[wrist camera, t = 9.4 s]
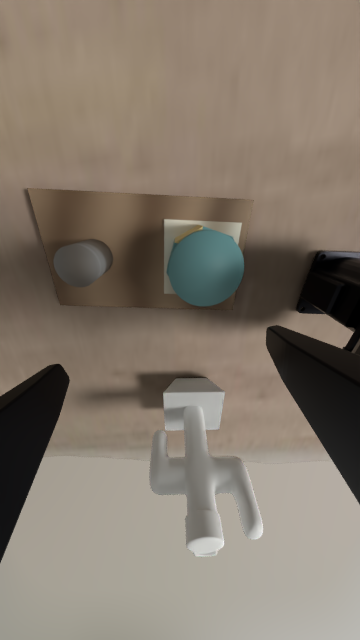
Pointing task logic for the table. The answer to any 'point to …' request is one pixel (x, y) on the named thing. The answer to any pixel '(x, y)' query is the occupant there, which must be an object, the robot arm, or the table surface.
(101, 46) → the table surface
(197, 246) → the cap
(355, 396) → the robot arm
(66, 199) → the board
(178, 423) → the figurine
